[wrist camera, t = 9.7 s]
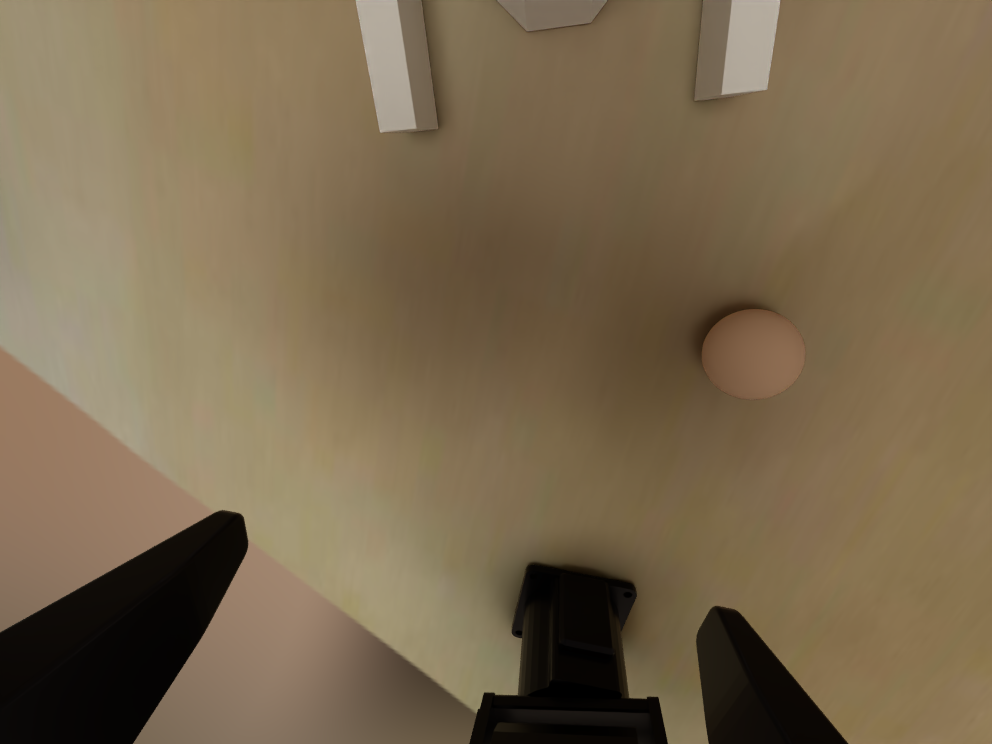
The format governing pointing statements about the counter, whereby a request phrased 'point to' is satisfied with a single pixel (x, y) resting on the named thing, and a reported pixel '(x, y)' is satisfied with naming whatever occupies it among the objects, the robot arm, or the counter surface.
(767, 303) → the counter surface
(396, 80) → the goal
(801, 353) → the ball
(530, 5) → the pepper shaker
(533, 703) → the robot arm
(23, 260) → the counter surface
